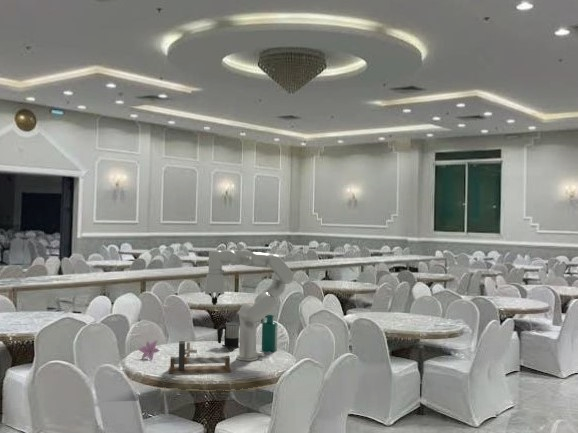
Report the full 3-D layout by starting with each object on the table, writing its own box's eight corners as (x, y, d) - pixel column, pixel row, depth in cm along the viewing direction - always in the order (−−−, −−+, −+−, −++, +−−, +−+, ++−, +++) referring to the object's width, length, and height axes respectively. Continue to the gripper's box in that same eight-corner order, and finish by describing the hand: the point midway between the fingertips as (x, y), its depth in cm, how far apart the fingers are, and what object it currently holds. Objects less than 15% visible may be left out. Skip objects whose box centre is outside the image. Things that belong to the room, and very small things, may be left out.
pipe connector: (193, 362, 343) (193, 344, 343) (176, 361, 345) (176, 343, 345) (199, 358, 353) (199, 341, 353) (182, 357, 355) (183, 339, 355)
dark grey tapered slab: (184, 366, 328) (184, 341, 328) (184, 370, 321) (184, 344, 321) (178, 366, 328) (179, 341, 328) (178, 370, 320) (179, 344, 320)
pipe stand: (229, 367, 334) (229, 353, 334) (230, 372, 324) (231, 358, 324) (169, 368, 329) (169, 354, 329) (169, 373, 318) (169, 359, 318)
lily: (136, 358, 354) (134, 345, 349) (153, 348, 361) (151, 335, 356) (149, 368, 347) (146, 355, 342) (165, 357, 354) (163, 344, 349)
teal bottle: (277, 349, 380) (278, 314, 380) (274, 352, 372) (275, 316, 372) (262, 348, 382) (263, 313, 382) (258, 351, 374) (259, 315, 374)
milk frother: (235, 344, 391) (236, 321, 390) (246, 350, 377) (246, 325, 377) (214, 347, 383) (215, 323, 383) (225, 352, 370) (225, 327, 370)
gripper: (227, 271, 351) (227, 303, 351) (201, 271, 348) (200, 303, 348) (228, 273, 344) (228, 305, 344) (201, 272, 341) (201, 305, 341)
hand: (214, 304), depth 346 cm, fingers closed
